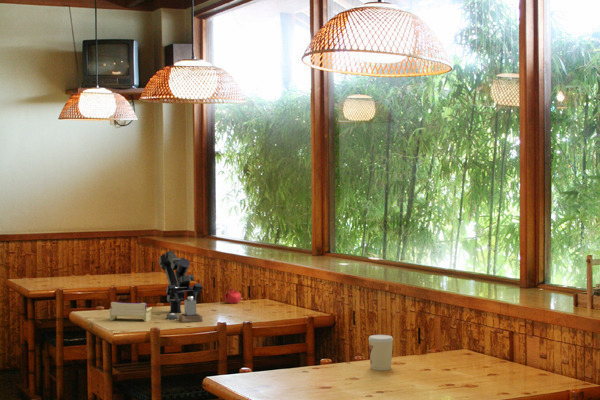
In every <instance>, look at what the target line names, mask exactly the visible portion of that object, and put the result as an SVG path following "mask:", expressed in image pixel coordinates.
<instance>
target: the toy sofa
mask: <svg viewBox="0 0 600 400" xmlns="http://www.w3.org/2000/svg"><path fill="white" fill-rule="evenodd" d="M147 305H148V304H147V303H146V302H139V303H138V302H118V301H112V302H110V308H109V309H108V311H109V321H111V322H112V321H114V320H117V319H118V317H134V318H135V317H136V318H141V319H142V320H143V321H144V323H146V321H147V322H149V321H151V320H152V310H153V307H152V306H150V307H148V308H147Z"/></svg>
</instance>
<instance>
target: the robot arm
mask: <svg viewBox="0 0 600 400" xmlns="http://www.w3.org/2000/svg"><path fill="white" fill-rule="evenodd" d="M158 265H159V266H160V268H161V270H163V271H164V272H165V276H166V279H167V282H168V284H167V286H166V291H165V292H166V301H167V303H169V304H170V306H169V307H170V309H169V314H170V313H174V314H182V306H181V302H184V300H185V295H186V292H190V291H191V292H192V296H193V299H194V300H196V301H197V298H198V297H197V296H198V295H199V294H201V292H202V289H203V284H202V283H194V284H193V285H192V286H191V282H193V281H194V280H195V277H194V274H193V273H192V274H189V275H187V272H188V271H189V268H190V265H191V264H190V261H189V260H188V259H186V258H185V257H181V258H179V257H178V256H177V255H176V253H175V251H174V250H169V251H168V250H166V251H165V252H164V253H163V254H162V255H160V256H159V259H158Z"/></svg>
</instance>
